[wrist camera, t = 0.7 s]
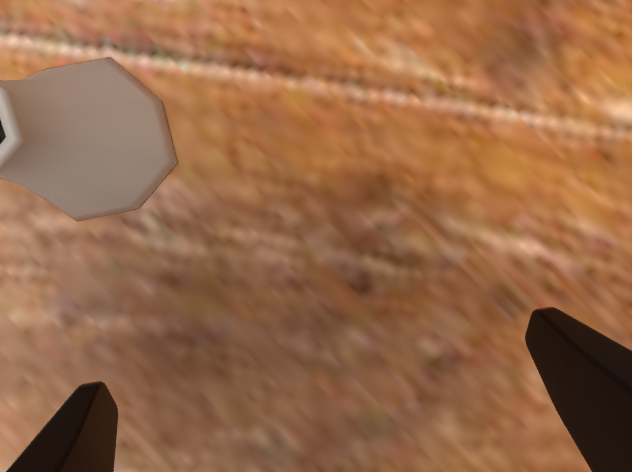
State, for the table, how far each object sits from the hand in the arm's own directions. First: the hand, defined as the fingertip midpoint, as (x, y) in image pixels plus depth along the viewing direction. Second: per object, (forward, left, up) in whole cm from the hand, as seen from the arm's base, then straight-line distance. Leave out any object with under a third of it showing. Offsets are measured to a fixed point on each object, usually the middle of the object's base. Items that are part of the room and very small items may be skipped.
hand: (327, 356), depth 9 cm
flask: (+3, +10, -14) cm, 17 cm away
